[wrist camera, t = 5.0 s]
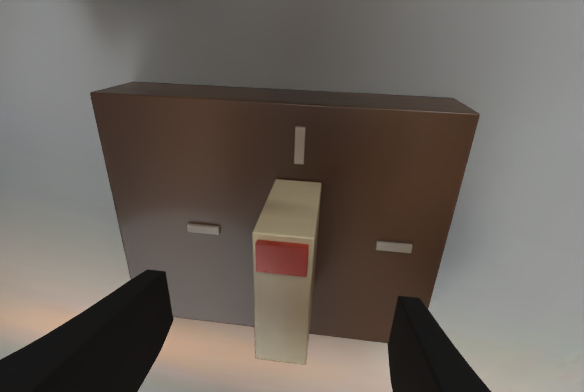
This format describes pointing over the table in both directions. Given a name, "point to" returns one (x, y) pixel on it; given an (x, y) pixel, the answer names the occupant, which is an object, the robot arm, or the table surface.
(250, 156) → the panel
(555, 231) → the table surface
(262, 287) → the cream block red label
